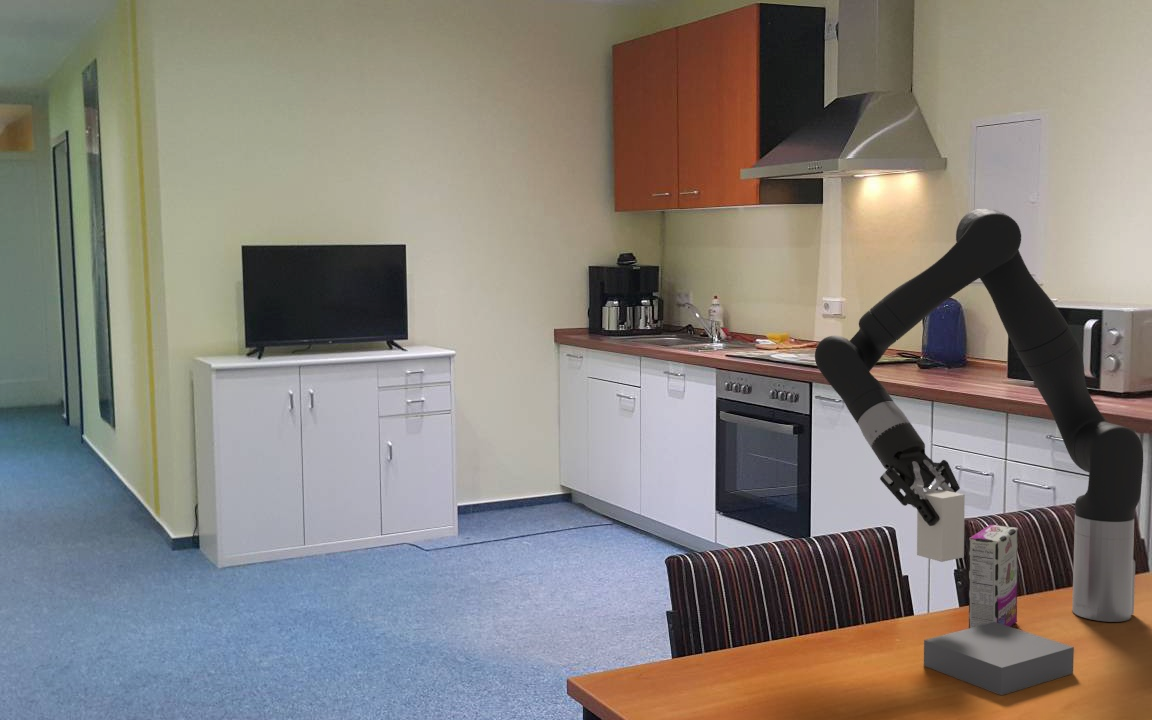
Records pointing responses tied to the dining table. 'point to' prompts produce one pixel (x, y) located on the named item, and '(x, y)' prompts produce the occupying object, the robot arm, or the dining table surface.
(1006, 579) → the candy bar box
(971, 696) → the dining table surface
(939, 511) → the cream block
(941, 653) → the base board
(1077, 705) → the dining table surface
